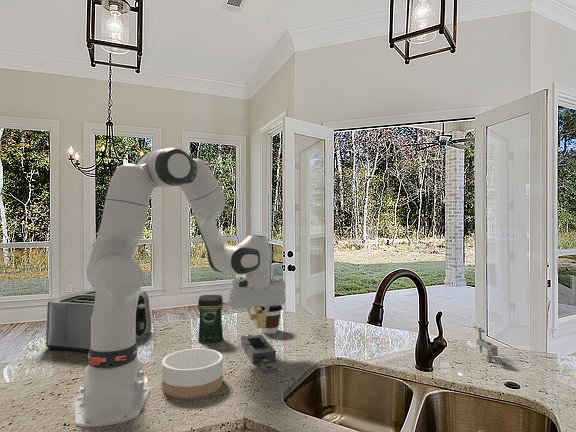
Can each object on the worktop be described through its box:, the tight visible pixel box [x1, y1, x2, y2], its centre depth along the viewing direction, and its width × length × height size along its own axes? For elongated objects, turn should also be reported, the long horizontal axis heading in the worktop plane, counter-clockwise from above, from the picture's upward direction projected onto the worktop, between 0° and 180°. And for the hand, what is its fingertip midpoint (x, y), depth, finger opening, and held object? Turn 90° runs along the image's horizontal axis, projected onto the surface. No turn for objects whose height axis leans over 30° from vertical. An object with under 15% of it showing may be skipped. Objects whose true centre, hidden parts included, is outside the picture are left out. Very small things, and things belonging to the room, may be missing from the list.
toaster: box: [45, 287, 152, 353], centre depth 151 cm, size 29×32×19 cm
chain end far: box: [240, 333, 269, 354], centre depth 147 cm, size 17×8×4 cm, turn 19°
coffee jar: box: [197, 294, 224, 344], centre depth 152 cm, size 10×8×19 cm
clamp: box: [473, 325, 499, 363], centre depth 136 cm, size 15×2×10 cm, turn 177°
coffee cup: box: [260, 305, 283, 335], centre depth 163 cm, size 11×11×12 cm
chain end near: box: [246, 342, 278, 374], centre depth 129 cm, size 17×8×4 cm, turn 19°
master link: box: [250, 307, 266, 329], centre depth 138 cm, size 11×3×6 cm, turn 19°
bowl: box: [161, 347, 224, 399], centre depth 112 cm, size 17×17×8 cm
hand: (257, 318), depth 138 cm, fingers closed on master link, 3 cm apart
